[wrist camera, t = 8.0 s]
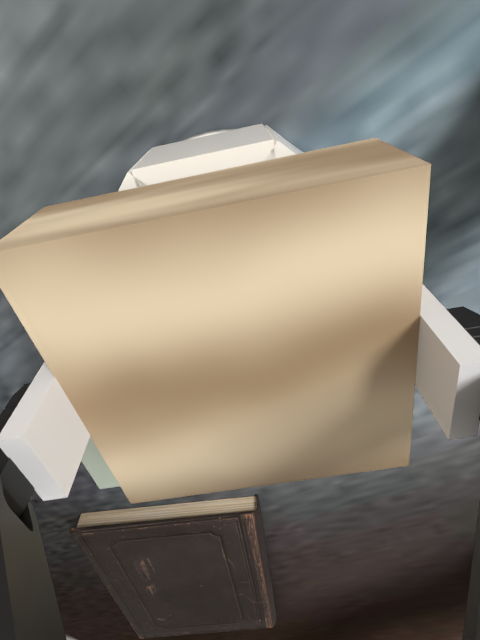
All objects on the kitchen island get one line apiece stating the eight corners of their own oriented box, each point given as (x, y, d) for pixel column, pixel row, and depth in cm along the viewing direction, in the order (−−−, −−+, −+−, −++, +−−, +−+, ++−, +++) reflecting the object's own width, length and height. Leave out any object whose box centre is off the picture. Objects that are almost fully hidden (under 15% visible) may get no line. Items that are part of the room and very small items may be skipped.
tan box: (375, 391, 18) (408, 465, 15) (148, 426, 19) (130, 503, 16) (374, 137, 12) (431, 164, 9) (44, 206, 13) (-20, 254, 10)
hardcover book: (143, 615, 47) (139, 639, 45) (77, 506, 34) (68, 532, 32) (275, 603, 46) (277, 627, 44) (257, 488, 34) (259, 513, 32)
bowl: (348, 322, 24) (382, 389, 19) (160, 355, 25) (143, 428, 20) (338, 102, 17) (385, 115, 12) (83, 158, 18) (29, 191, 13)
